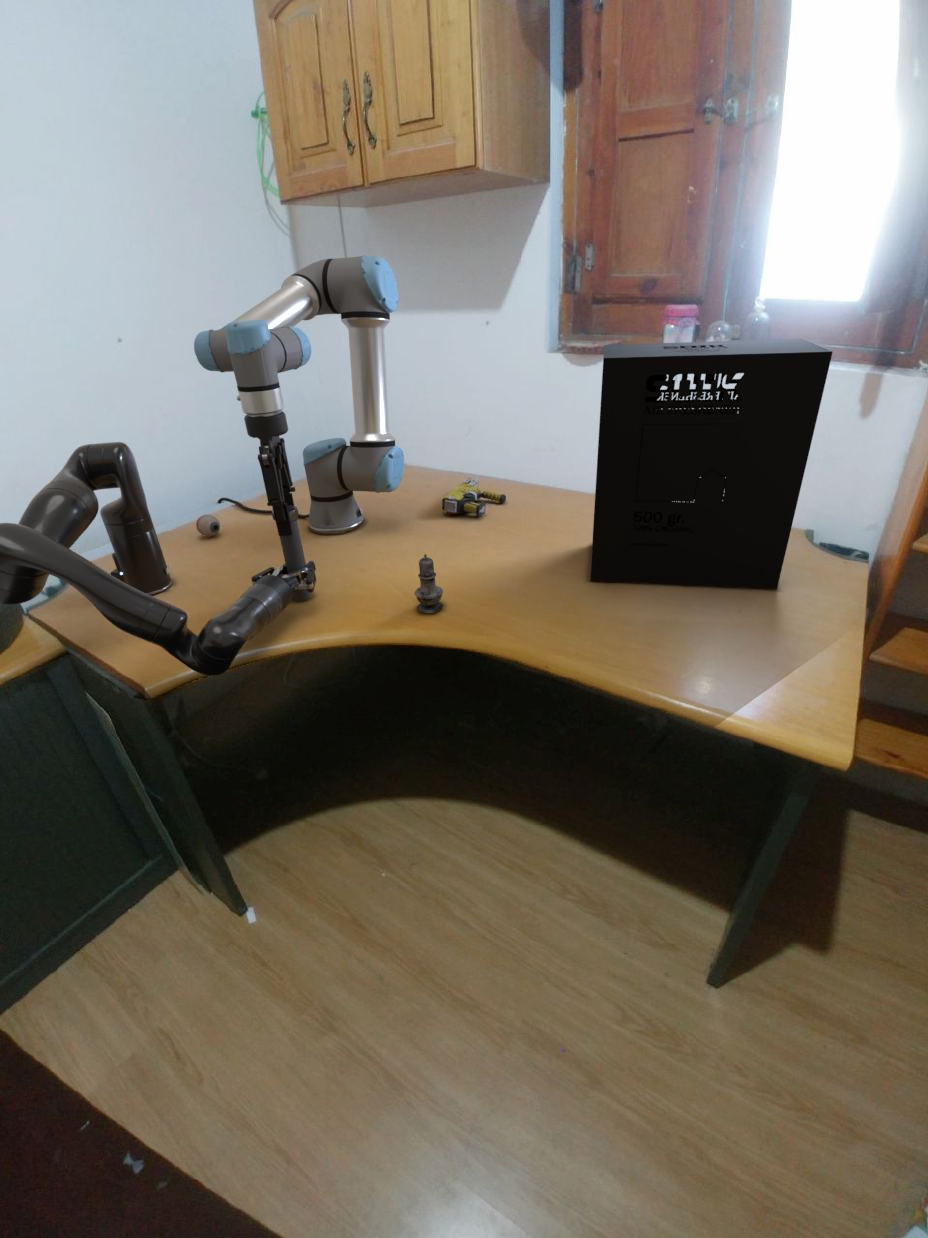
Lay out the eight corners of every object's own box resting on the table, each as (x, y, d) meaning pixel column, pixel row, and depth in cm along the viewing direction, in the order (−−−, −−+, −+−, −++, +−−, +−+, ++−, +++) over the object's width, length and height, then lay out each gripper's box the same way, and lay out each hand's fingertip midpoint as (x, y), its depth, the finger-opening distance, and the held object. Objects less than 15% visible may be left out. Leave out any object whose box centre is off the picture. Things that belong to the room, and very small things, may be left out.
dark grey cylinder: (291, 595, 133) (273, 512, 124) (310, 591, 134) (293, 509, 125) (294, 603, 130) (276, 518, 120) (313, 599, 131) (297, 515, 122)
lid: (282, 512, 126) (280, 504, 125) (303, 513, 124) (302, 505, 123) (267, 520, 122) (266, 512, 121) (290, 522, 120) (288, 514, 119)
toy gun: (514, 482, 184) (468, 475, 188) (491, 505, 164) (440, 497, 168) (513, 497, 186) (467, 490, 190) (490, 522, 166) (439, 513, 170)
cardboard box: (756, 549, 141) (800, 338, 118) (776, 589, 124) (832, 351, 101) (592, 544, 148) (604, 344, 126) (590, 580, 131) (603, 357, 109)
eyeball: (209, 541, 163) (203, 520, 160) (195, 537, 166) (188, 517, 163) (227, 533, 168) (222, 513, 165) (213, 530, 171) (207, 510, 168)
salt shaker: (440, 614, 122) (436, 560, 116) (412, 613, 123) (406, 559, 117) (447, 600, 127) (443, 548, 121) (420, 599, 128) (414, 547, 122)
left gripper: (293, 586, 113) (330, 549, 128) (226, 582, 116) (269, 547, 131) (301, 620, 117) (335, 581, 132) (235, 616, 120) (276, 578, 135)
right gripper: (254, 404, 120) (278, 515, 132) (231, 424, 104) (260, 548, 116) (292, 402, 121) (313, 512, 132) (274, 421, 105) (299, 545, 116)
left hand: (302, 564), depth 131 cm, fingers closed on dark grey cylinder, 4 cm apart
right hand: (288, 529), depth 124 cm, fingers open, 5 cm apart
